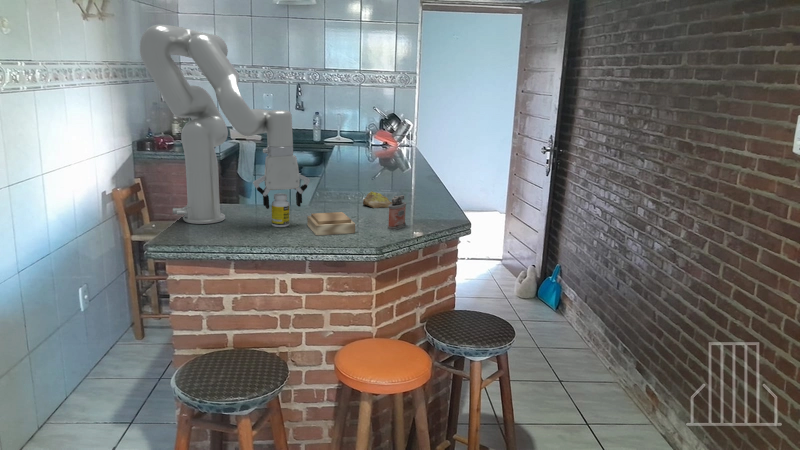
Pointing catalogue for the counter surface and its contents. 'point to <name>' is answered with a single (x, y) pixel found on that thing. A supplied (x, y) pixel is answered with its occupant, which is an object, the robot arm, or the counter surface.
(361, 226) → the counter surface
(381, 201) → the rock
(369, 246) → the counter surface
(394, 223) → the lighter
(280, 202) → the supplement bottle
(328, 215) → the plinth
